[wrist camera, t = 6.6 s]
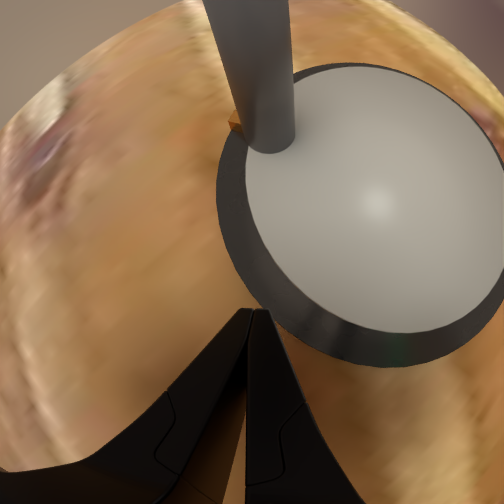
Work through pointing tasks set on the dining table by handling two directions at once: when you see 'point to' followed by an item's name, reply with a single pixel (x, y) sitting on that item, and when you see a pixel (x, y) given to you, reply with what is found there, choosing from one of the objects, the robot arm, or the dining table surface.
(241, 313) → the robot arm
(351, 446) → the dining table surface
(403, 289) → the wheel
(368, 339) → the base plate
